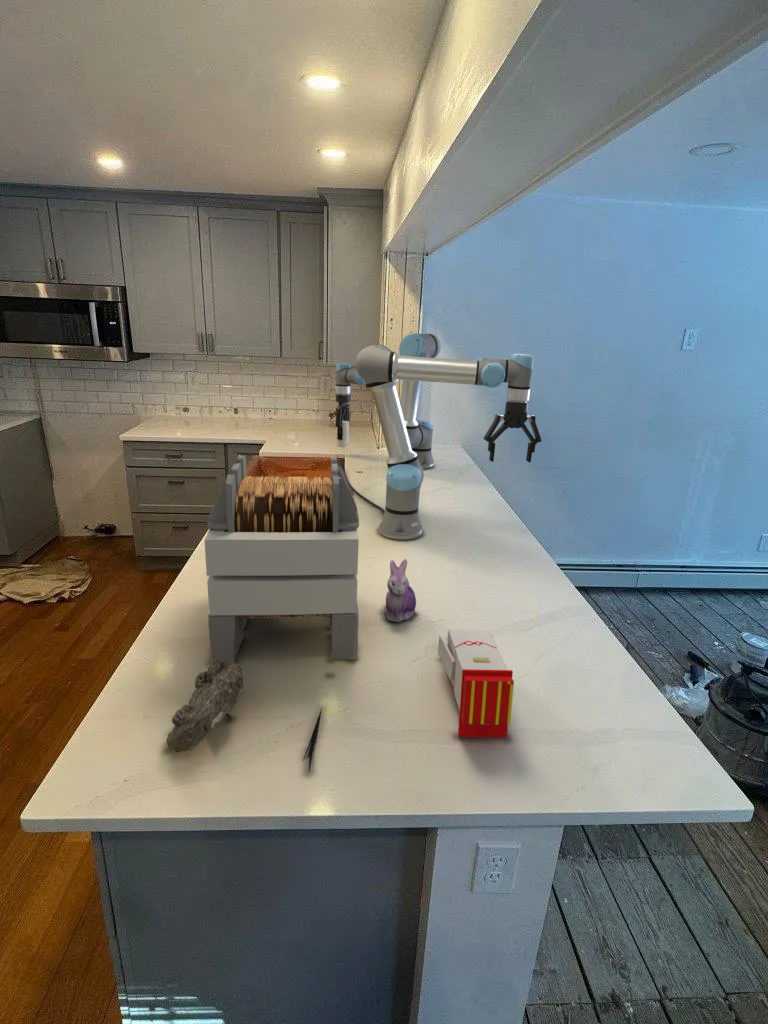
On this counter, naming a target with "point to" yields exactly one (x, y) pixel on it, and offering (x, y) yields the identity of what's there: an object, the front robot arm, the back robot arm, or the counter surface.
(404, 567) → the figurine
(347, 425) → the canister
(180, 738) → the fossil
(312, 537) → the record crate
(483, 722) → the toy
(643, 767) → the counter surface
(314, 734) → the feather
